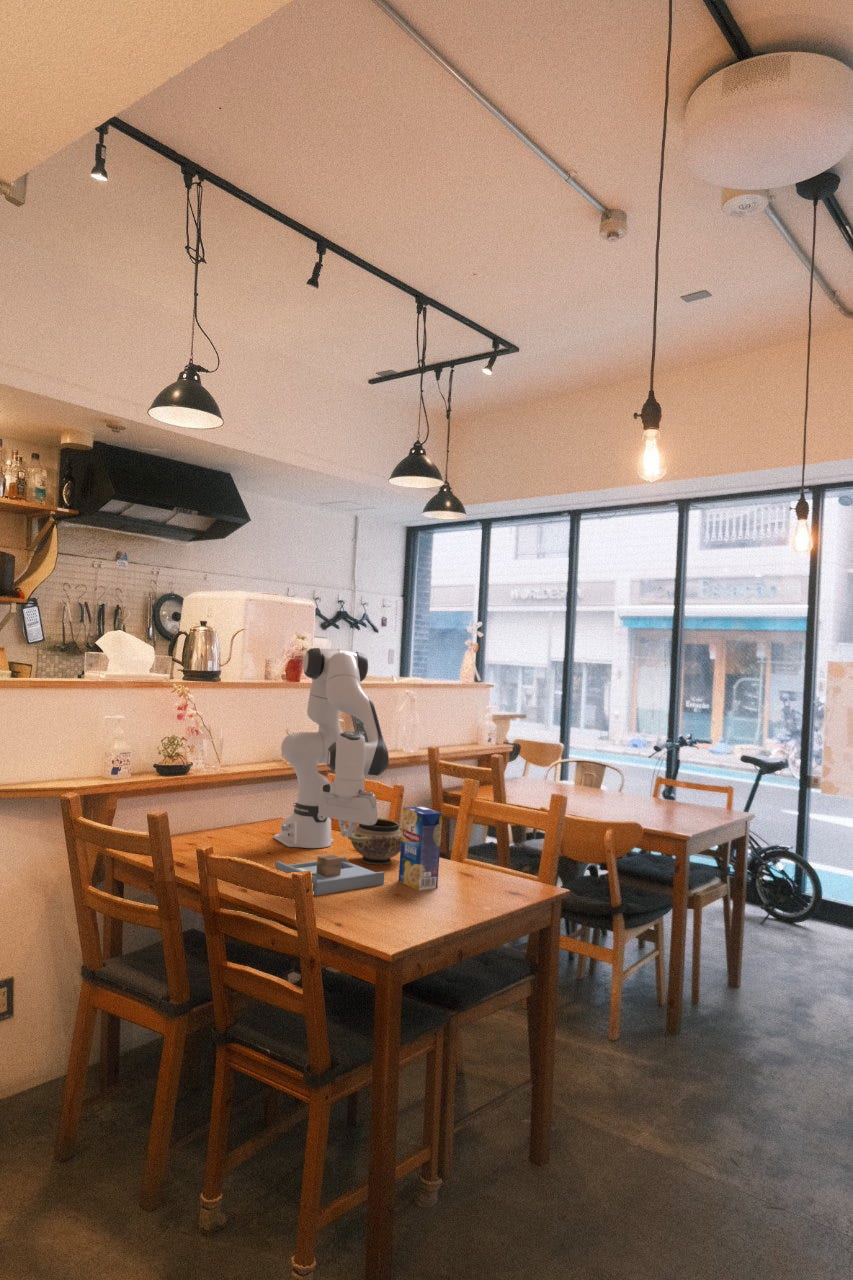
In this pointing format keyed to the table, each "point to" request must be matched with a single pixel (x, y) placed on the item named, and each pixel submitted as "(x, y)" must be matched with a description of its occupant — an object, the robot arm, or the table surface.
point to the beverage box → (420, 847)
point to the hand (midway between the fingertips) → (346, 836)
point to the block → (328, 865)
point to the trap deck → (347, 879)
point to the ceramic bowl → (377, 841)
